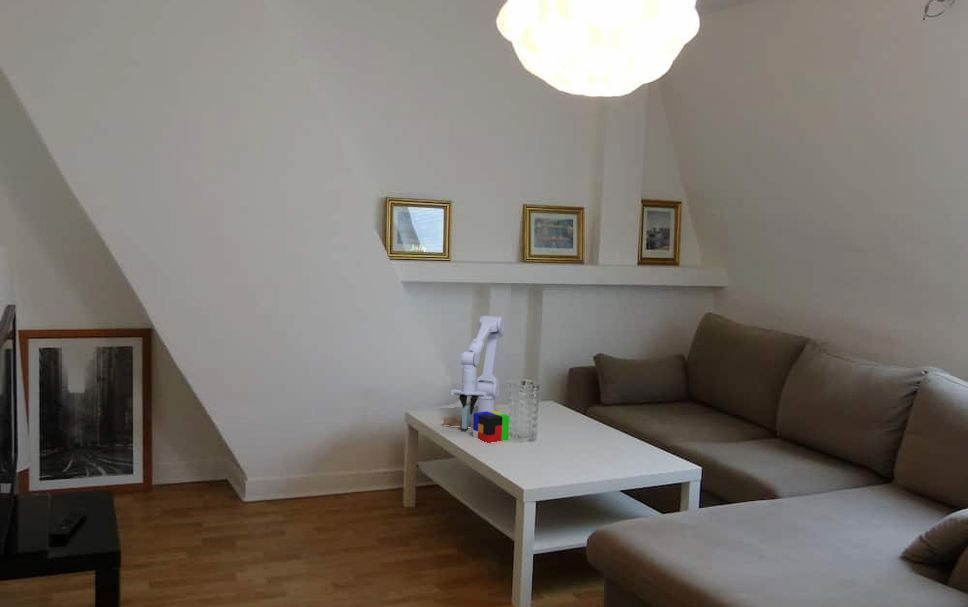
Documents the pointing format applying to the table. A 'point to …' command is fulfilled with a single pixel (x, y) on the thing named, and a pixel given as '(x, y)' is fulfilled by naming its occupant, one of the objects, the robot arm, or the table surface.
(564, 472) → the table surface
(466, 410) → the teal slotted plate
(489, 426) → the puzzle toy
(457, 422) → the walnut slotted plate
